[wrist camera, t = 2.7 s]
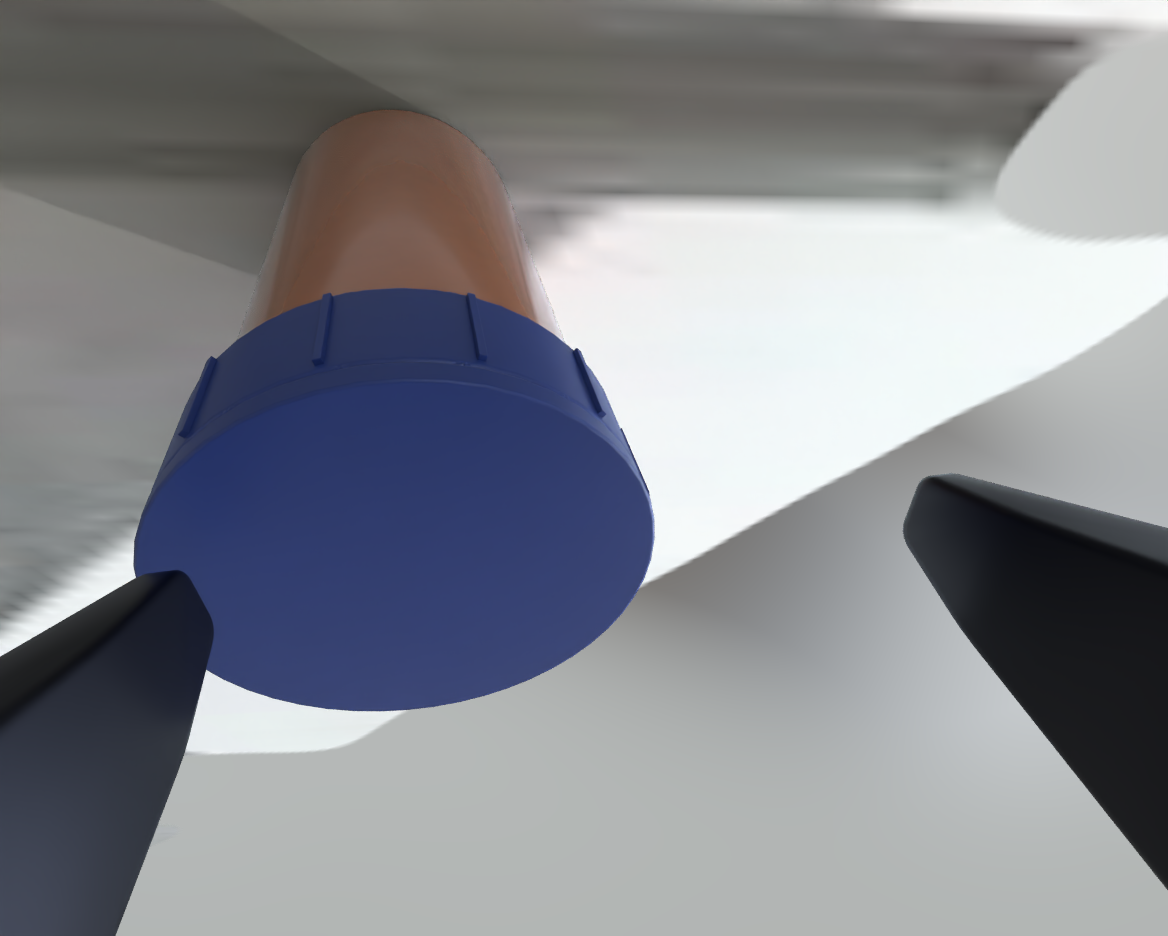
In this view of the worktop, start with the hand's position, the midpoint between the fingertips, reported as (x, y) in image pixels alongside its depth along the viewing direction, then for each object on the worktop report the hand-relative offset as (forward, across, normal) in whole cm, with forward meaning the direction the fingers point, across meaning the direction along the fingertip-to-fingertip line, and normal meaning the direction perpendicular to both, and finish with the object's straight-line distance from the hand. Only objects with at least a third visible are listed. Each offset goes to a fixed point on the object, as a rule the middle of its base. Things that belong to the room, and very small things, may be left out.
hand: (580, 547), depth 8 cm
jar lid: (+1, -2, -1) cm, 3 cm away
